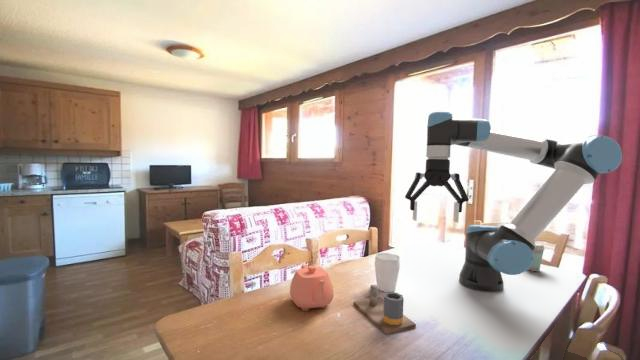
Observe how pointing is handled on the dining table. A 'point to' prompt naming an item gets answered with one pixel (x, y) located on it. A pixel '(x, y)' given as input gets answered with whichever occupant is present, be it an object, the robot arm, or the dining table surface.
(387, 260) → the cup
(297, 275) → the teapot
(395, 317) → the sleeve
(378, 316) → the pin board
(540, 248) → the coffee cup
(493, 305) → the dining table surface
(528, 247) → the robot arm
